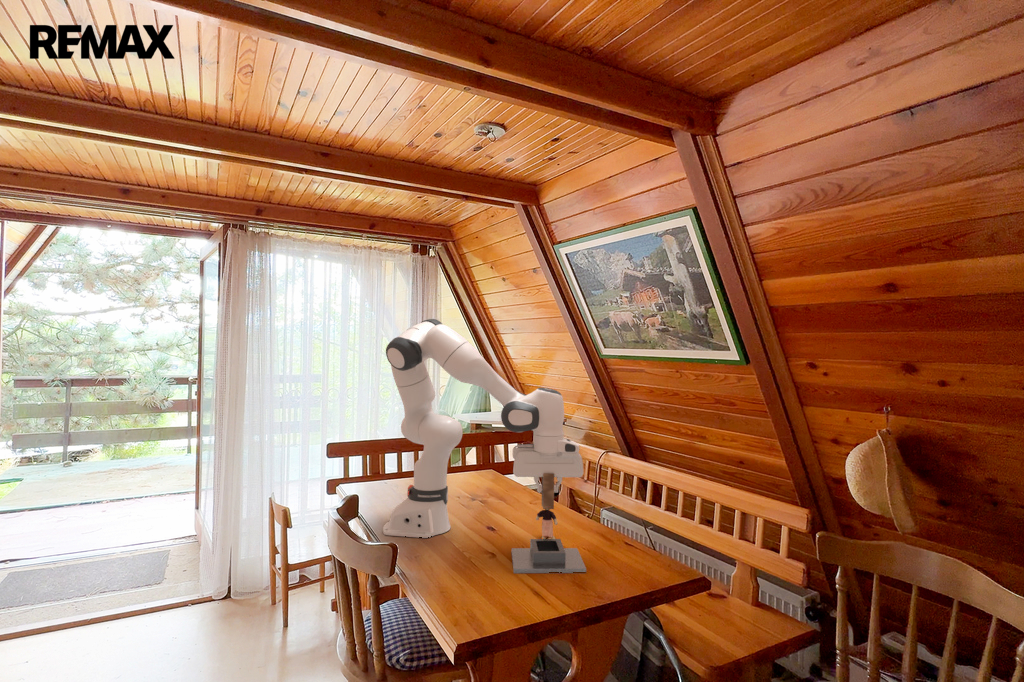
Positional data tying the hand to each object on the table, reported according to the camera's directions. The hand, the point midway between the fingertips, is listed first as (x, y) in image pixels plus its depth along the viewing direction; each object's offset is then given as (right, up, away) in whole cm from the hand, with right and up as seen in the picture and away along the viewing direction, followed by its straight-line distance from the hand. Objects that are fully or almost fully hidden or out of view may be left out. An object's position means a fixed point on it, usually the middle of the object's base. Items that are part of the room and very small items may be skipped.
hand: (547, 492), depth 155 cm
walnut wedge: (0, -4, 0) cm, 4 cm away
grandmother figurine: (+1, -21, +19) cm, 28 cm away
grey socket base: (0, -20, 0) cm, 20 cm away
